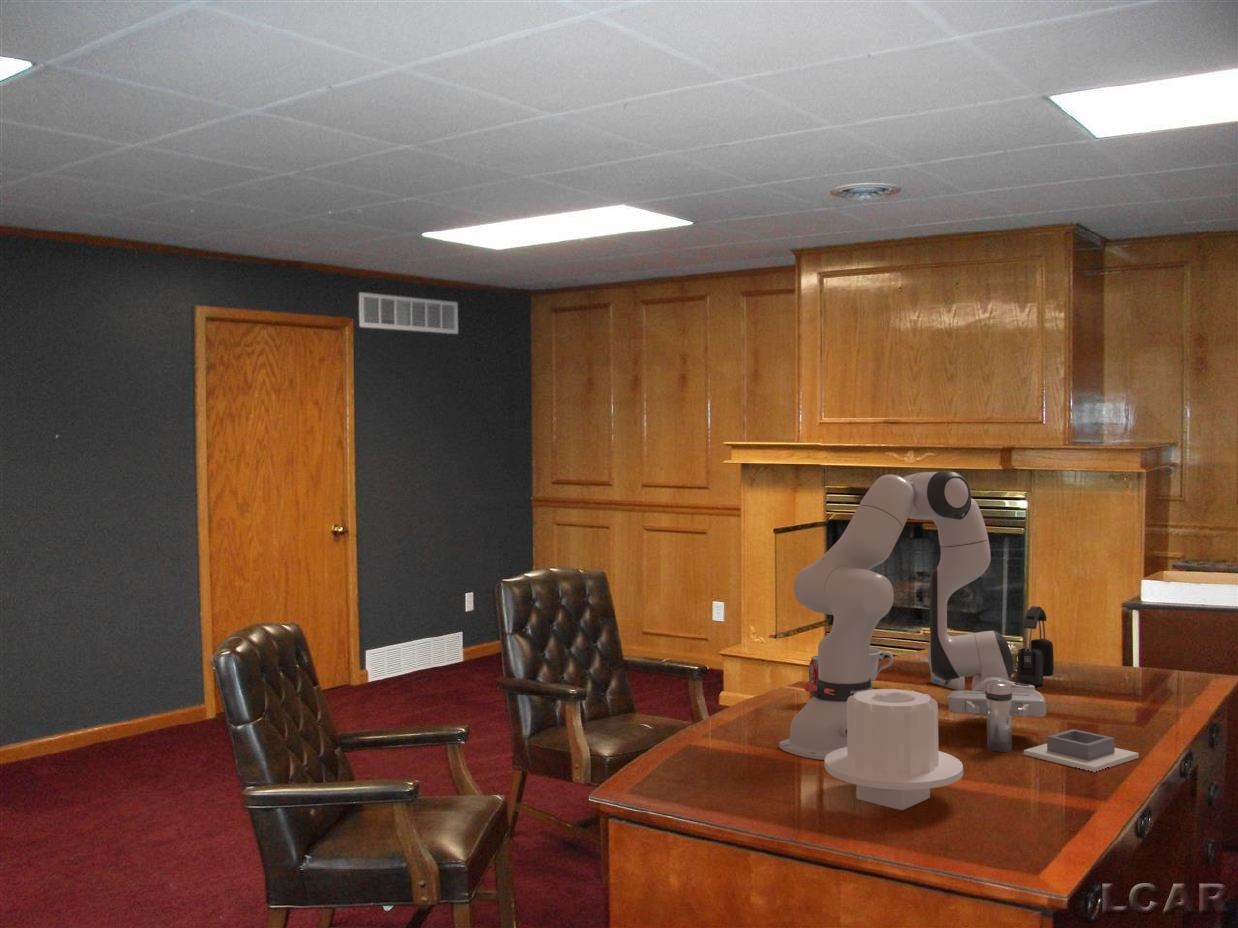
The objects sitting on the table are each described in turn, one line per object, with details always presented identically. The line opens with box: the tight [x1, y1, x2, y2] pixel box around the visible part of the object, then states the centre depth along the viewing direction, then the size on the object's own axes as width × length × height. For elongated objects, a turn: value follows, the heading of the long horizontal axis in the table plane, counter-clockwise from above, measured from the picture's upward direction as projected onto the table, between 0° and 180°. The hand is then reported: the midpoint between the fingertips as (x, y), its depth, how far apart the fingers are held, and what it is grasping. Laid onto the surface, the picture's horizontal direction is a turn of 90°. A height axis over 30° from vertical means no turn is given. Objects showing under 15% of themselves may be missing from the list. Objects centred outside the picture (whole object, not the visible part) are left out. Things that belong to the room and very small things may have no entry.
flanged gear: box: [824, 688, 964, 811], centre depth 205 cm, size 25×25×19 cm
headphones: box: [1016, 606, 1055, 686], centre depth 304 cm, size 22×6×20 cm, turn 148°
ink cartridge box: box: [930, 670, 966, 691], centre depth 298 cm, size 2×11×10 cm, turn 25°
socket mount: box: [1023, 728, 1140, 773], centre depth 230 cm, size 16×16×4 cm
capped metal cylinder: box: [985, 681, 1013, 753], centre depth 237 cm, size 5×5×14 cm
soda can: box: [808, 655, 818, 701], centre depth 279 cm, size 7×7×12 cm
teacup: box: [869, 646, 894, 683], centre depth 298 cm, size 12×15×10 cm
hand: (998, 711), depth 236 cm, fingers open, 8 cm apart
